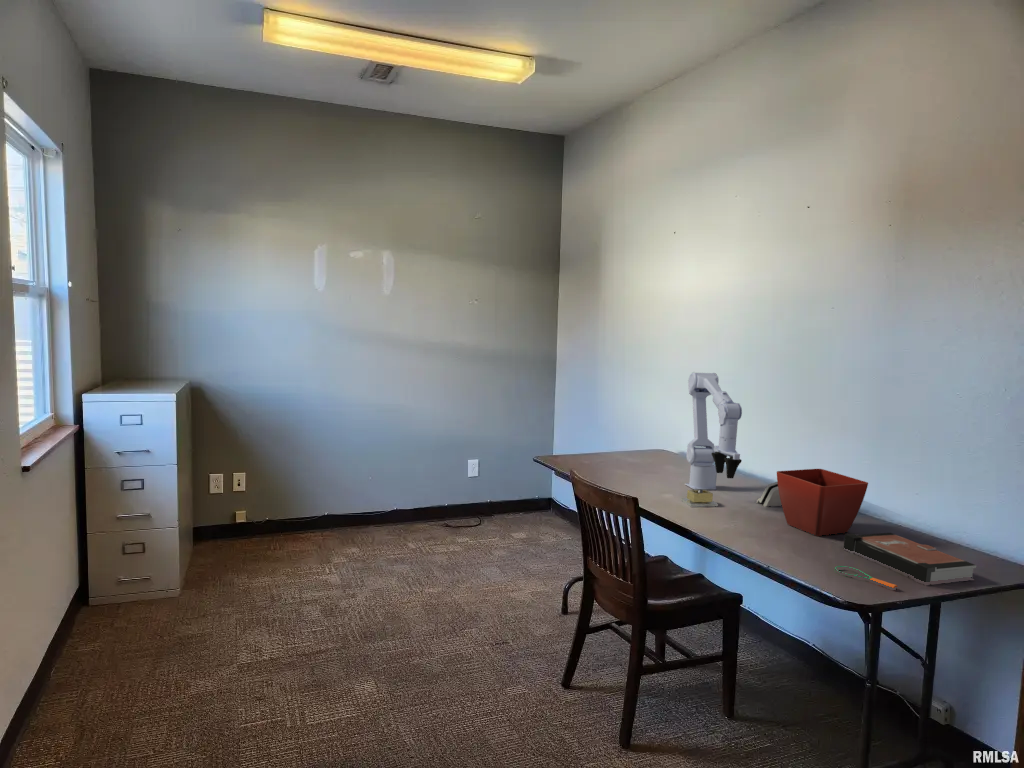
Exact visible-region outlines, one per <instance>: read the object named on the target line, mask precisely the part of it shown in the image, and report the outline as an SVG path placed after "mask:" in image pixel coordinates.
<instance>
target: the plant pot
mask: <svg viewBox="0 0 1024 768" xmlns="http://www.w3.org/2000/svg"><path fill="white" fill-rule="evenodd" d="M776 480H777V481H776V482H777V483H778V489H779V495H780V500H781V504H782V506H781V507H782V511H783V514H784V518H785V520H786V523H787V525H789V526H791V527H793V528H795V527H796V529H798V530H800V529H801V530H800V531H803V532H805V531H806V532H805V533H808V532H809V533H808V534H810V533H811V535H812V534H814V535H813V536H815V535H816V536H815V537H823V536H822V535H826V536H832V535H831V534H835V535H838V534H837V533H843V534H846V533H845V532H847V533H848V532H849V530H850V529H851V527H852V526H853V524H854V522H855V520H856V518H857V515H858V513H860V512H859V511H860V510H861V506H862V505H863V502H864V499H865V496H866V493H867V490H868V486H869V482H867V481H865V480H861V479H858V478H854V477H850V476H847V475H844V474H840V473H838V472H833V471H830V470H827V469H823V468H805V469H793V470H778V471H776ZM829 534H830V535H829Z"/></svg>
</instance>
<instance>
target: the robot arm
mask: <svg viewBox="0 0 1024 768" xmlns="http://www.w3.org/2000/svg"><path fill="white" fill-rule="evenodd" d="M687 381H688V382H687V383H688V395H690V396H692V409H693V410H692V412H693V413H692V414H693V416H692V417H693V435H694V437H693V439H692V440H691V441H689V442H688V443H687V446H686V447H687V449H686V461H687V462H688V464H690V468H689V469H690V470H689V482H686V483H684V485H685V486H687V487H688V488H691V490H698V489H702V490H717V475H718V474H723V473H724V468H725V467H726V468H725V469H726V470H725V471H726V472H725V474H726V478H727V479H734V478H735V475H736V471H737V470H738V467H739V466H740V464H741V463H742V459H741V458H740V457H741V454H740V453H738V451H737V450H736V449H737V448H736V446H737V436H738V424H739V420H741V418H742V415H743V409H742V406H741V403H738V402H734V401H733V399H732V398H731V397H730V396H729V394H728V392H727V391H724V390H722V389H721V386H720V385H719V376H718V375H717V373H715V372H695V371H693V372H691V373H690V374H689V377H688V380H687ZM709 396H712V402H713V404H714V406H715V407H716V409H718V411H717V412H718V414H717V415H718V424H719V425H720V426H719V438H718V445H715V443H713V441H711V440H710V439H709V437H708V418H707V416H708V414H707V397H709Z"/></svg>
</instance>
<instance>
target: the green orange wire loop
mask: <svg viewBox="0 0 1024 768" xmlns="http://www.w3.org/2000/svg"><path fill="white" fill-rule="evenodd" d="M837 567H847V566H845V565H837V566H835V567H834V570H835V569H836V568H837ZM848 567H849V568H853V569H856V570H859V571H860V572H862V573H864V574H865V575H867V576H869V578H867V577H863V578H867V579H870V580H873V581H876V582H878V583H881V584H884V585H886V586H889V587H892V588H895V587H898V585H897V584H894V583H890V582H888V581H885V580H882V579H879V578H876V577H873V576H871V575H869V574H867V573H865V572H864V571H862V570H860V569H858V568H855V567H851V566H848ZM836 570H837V569H836ZM837 571H838V570H837ZM839 572H842V571H841V570H840V571H839ZM842 573H845V574H848V575H852V574H850V573H846V572H842ZM853 575H854V576H857V575H858V574H853ZM858 577H862V576H858ZM898 588H899V587H898Z"/></svg>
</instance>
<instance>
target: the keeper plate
mask: <svg viewBox="0 0 1024 768" xmlns="http://www.w3.org/2000/svg"><path fill="white" fill-rule="evenodd" d="M698 493H703V490H702V489H698ZM682 501H683V502H682ZM681 502H682V503H684V504H685V503H686V505H687V506H688V507H690V508H691V507H692V508H698V507H699V508H701V507H705V508H706V507H707V508H708V507H709V508H711V507H715V506H716V507H718V505H719V504H718V503H717V502H716V501H714V500H712V502H692V501H691V500H689V499H687V497H684V498H681Z"/></svg>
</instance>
